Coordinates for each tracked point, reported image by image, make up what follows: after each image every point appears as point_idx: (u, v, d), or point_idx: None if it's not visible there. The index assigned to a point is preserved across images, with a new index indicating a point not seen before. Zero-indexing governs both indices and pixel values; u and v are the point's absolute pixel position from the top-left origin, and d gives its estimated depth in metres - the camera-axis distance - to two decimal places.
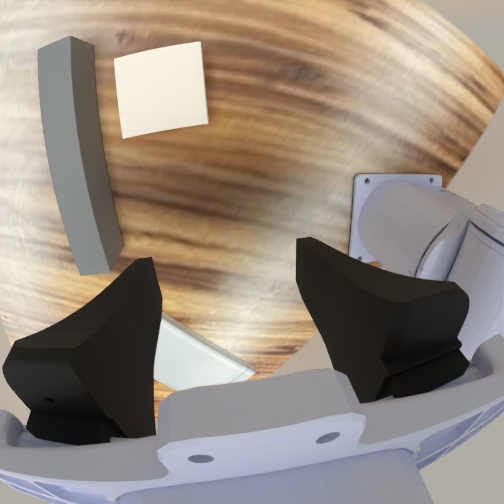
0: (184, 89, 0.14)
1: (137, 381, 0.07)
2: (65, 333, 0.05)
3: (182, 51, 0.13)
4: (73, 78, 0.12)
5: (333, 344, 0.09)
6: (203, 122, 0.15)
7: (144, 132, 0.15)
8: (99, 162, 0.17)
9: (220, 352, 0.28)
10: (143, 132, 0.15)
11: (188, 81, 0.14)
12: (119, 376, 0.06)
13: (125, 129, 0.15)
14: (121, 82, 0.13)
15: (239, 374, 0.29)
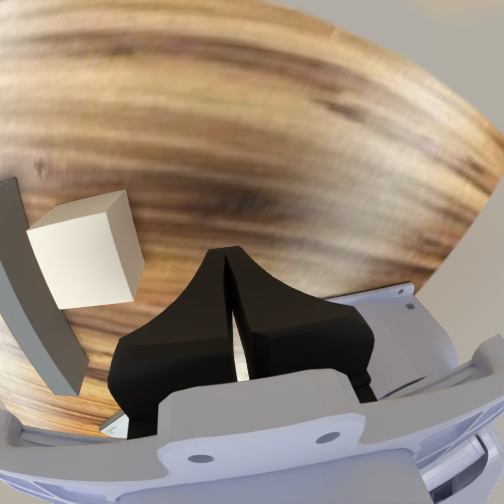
0: (102, 268, 0.13)
1: None
2: (184, 324, 0.06)
3: (89, 225, 0.12)
4: None
5: (246, 360, 0.09)
6: (129, 300, 0.14)
7: (76, 306, 0.14)
8: (48, 305, 0.17)
9: None
10: (75, 306, 0.14)
11: (103, 259, 0.13)
12: (234, 367, 0.07)
13: (58, 302, 0.14)
14: (40, 257, 0.12)
15: None
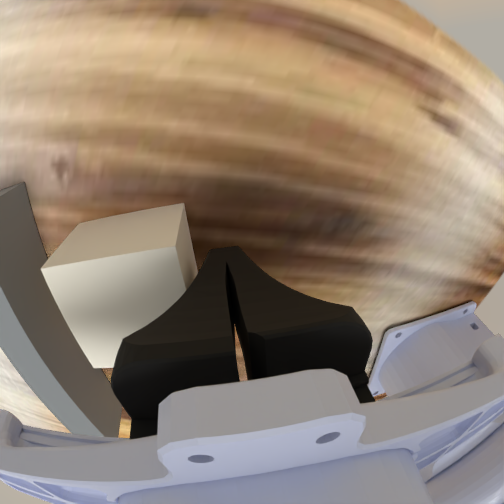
0: None
1: None
2: (187, 323, 0.06)
3: (146, 264, 0.09)
4: (2, 282, 0.08)
5: None
6: None
7: None
8: (75, 349, 0.13)
9: None
10: None
11: None
12: None
13: (93, 360, 0.10)
14: (65, 305, 0.09)
15: None
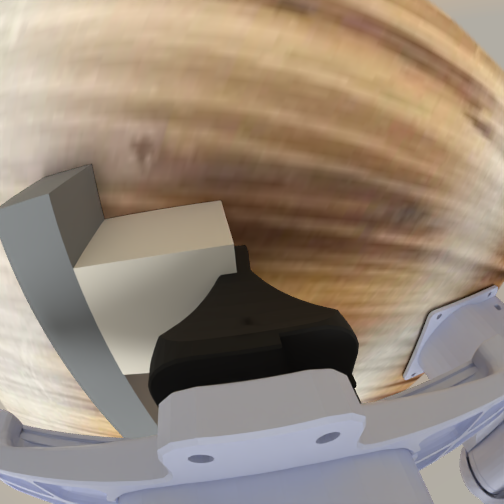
0: None
1: None
2: (223, 319, 0.06)
3: (200, 263, 0.08)
4: None
5: None
6: None
7: None
8: None
9: None
10: None
11: None
12: None
13: (124, 366, 0.10)
14: (99, 308, 0.09)
15: None
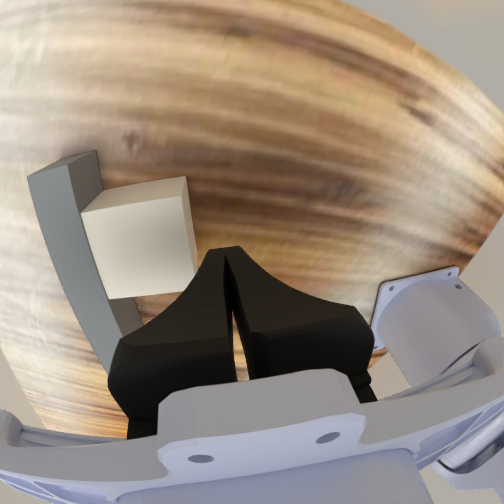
0: (168, 254, 0.14)
1: None
2: (184, 324, 0.06)
3: (160, 209, 0.13)
4: None
5: (246, 360, 0.09)
6: None
7: (130, 295, 0.15)
8: None
9: None
10: (129, 295, 0.15)
11: (171, 245, 0.14)
12: (234, 367, 0.07)
13: (109, 291, 0.14)
14: (95, 242, 0.13)
15: None
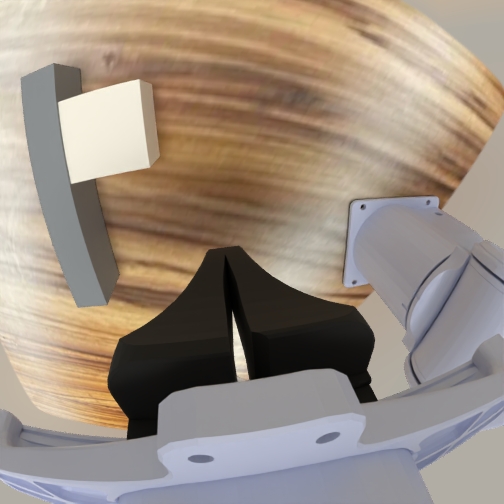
0: (125, 132, 0.14)
1: None
2: (184, 324, 0.06)
3: (121, 91, 0.13)
4: (58, 110, 0.12)
5: (246, 360, 0.09)
6: (145, 166, 0.15)
7: (90, 177, 0.14)
8: (90, 194, 0.17)
9: None
10: (89, 177, 0.14)
11: (128, 123, 0.13)
12: (234, 367, 0.07)
13: (72, 175, 0.14)
14: (66, 126, 0.13)
15: None
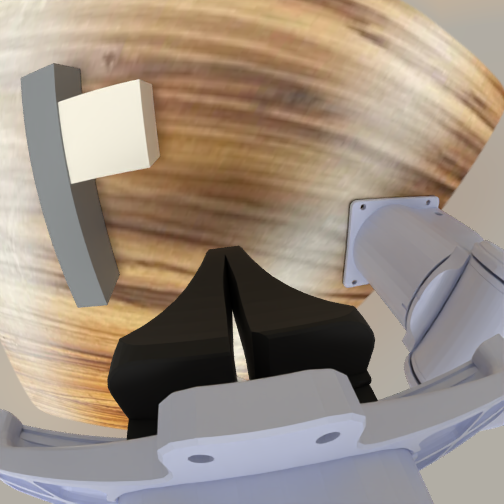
0: (125, 132, 0.14)
1: None
2: (184, 324, 0.06)
3: (121, 91, 0.13)
4: (58, 110, 0.12)
5: (246, 360, 0.09)
6: (145, 166, 0.15)
7: (90, 177, 0.14)
8: (90, 194, 0.17)
9: None
10: (89, 177, 0.14)
11: (128, 123, 0.13)
12: (234, 367, 0.07)
13: (72, 175, 0.14)
14: (66, 126, 0.13)
15: None
